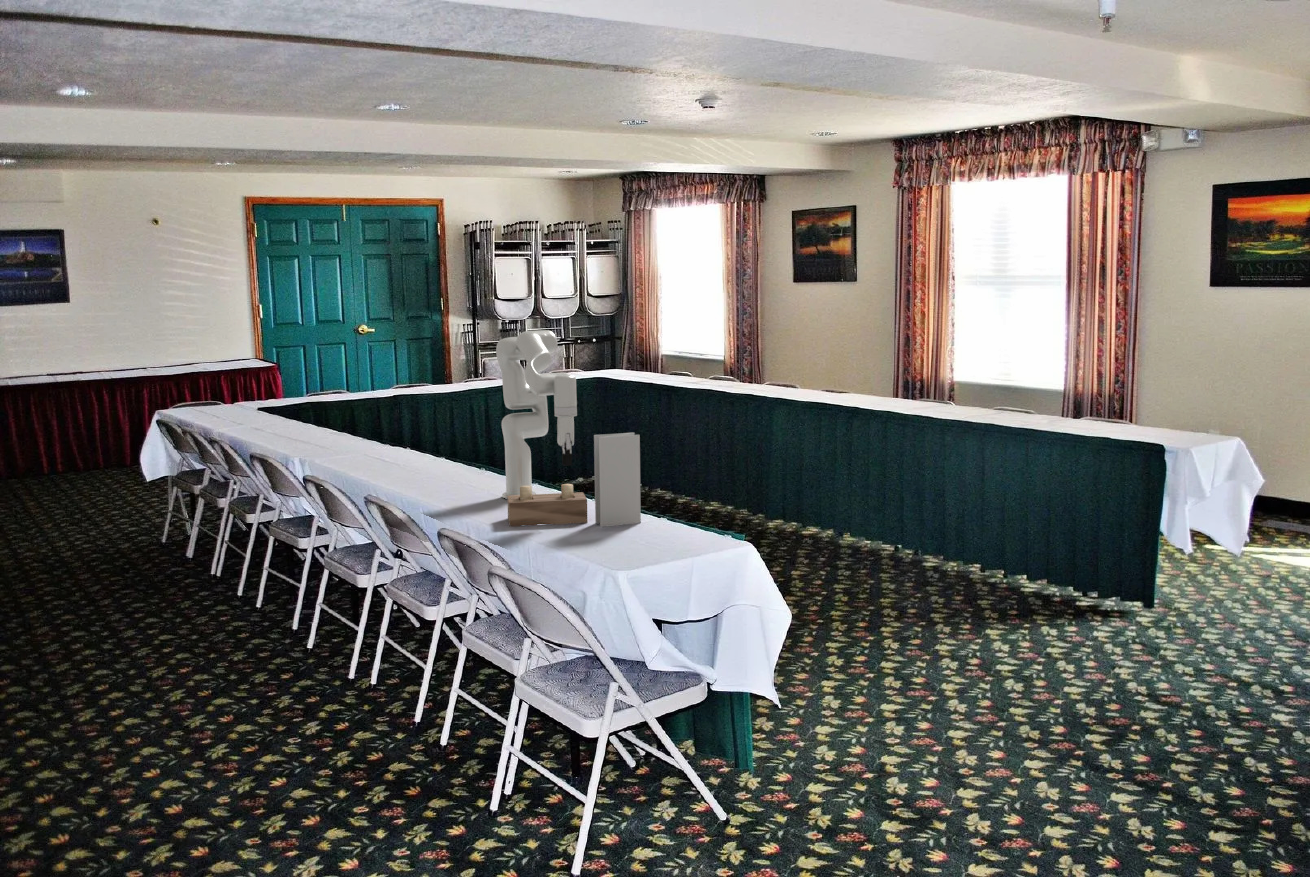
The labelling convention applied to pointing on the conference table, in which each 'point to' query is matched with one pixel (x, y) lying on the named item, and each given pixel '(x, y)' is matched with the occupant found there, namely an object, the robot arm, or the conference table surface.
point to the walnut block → (547, 509)
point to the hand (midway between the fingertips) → (567, 465)
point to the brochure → (617, 479)
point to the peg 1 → (526, 493)
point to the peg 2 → (567, 490)
